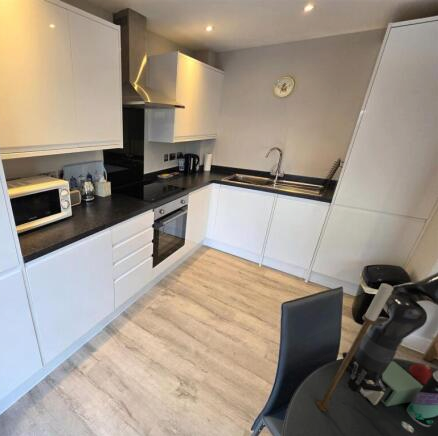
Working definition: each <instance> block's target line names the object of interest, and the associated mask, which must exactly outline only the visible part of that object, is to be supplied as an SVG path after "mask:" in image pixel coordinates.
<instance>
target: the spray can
mask: <svg viewBox="0 0 438 436" xmlns="http://www.w3.org/2000/svg"><path fill="white" fill-rule="evenodd" d="M422 386H423V388H422V389H421V390H420V391H419V393H418V394H417V395H416V397H415V398H414V399H413V401H412V402H409V404H408V406H407V407H406V413H407V415H408V416H409V417H410V418H411V419H412V420H413V421H414V422H415V423H417V424H419V425H421V426H423V427H426V428H429V427H432V425H433V424H435V422H436V421H437V419H438V369H437V370H435V371H434V372H433V374H432V376H431V377H430V378H429V380H428V381H427V382H426V384H423V385H422Z"/></svg>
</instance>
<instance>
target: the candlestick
mask: <svg viewBox="0 0 438 436" xmlns="http://www.w3.org/2000/svg"><path fill="white" fill-rule="evenodd" d="M365 314H366V313H364V314H363V316H362V320H363V321H364V322H363V324H362V325H361V327H360V329H359V330H358V332H357V335H356V337H355V338H354V340H353V342H352V343H351V345H350V347H349V350H348V351H347V352H348V353H347V355H346V357H345V359H343V360H342V362H341V364H340V366H339V368H338V370H337V372H336V374H335V375H334V377H333V379H332V381H331V383H330V385H329V387H328V388H327V390H326V392H325V393H324V397H323V398H322V399H321V400H318V401H317V402H316V407H317V408H318V409H319V410H320V411H321V412H327V410H328V405H327V404H328V402H329V401H330V398H331V397H332V395H333V393H334V391H335V389H336V387H337V386H338V384H339V382H340V381H341V379H342V376H343V375H344V373H345V371H346V368H347V366H348V364H349V362H350V360H351V359H352V357H353V355H354V353H355V351H356V350H357V348H358V346H359V344H360V342H361V340H362V339H363V337H364V335H365V333H366V331H367V330H368V328H369V326H370V324H373V325H374V324H375V323H376V321H377V320H376V321H372V320H369V319H367V318H366V317H365Z"/></svg>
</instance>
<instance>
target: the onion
mask: <svg viewBox="0 0 438 436" xmlns="http://www.w3.org/2000/svg"><path fill="white" fill-rule="evenodd" d="M433 373H434V372H433V370H432V368H431V366H430V365H428V364H421V363H415V364H412V365H411V366H410V367H409V375H411V376H412V377H413V378H414V379H415V380H417V381H418V382H419V383H420V384H421V385H425V384H426V382H427V381H428V380H429V378H430V377H431V376H432V374H433Z"/></svg>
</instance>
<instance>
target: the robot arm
mask: <svg viewBox="0 0 438 436" xmlns="http://www.w3.org/2000/svg"><path fill="white" fill-rule="evenodd" d="M391 286H392V285H391ZM392 287H393V288H394V289H393V291H392V292H391V294H390V296H389V298H388V299H387V301H386V303H385V305H384V307H383V308H382V310H383V311H384V312H385V313H386V314H387V315H388V316H389V318H388V317H384V316H378V317H377V319H376V320H377V321H376V323H375V324H374V325H373V324H370V326H369V328H368V330H367V331H366V333H365V335H364V337H363V339H362V340H361V342H360V344H359V346H358V348H357V350H356V351H355V353H354V355H353V357H352V359H351V360H350V362H349V364H348V366H347V368H346V369H345V371H346V373H348V374H349V375H350V376H349V380H348V382H347V385H348V386H347V387H348V389H350V390H351V391H352V392H360V390H361V388H363V389H364V390H372V391H379V392H381V391H387V390H388V388H387V387H386V386H385V385H383V383H382V381H381V380H382V378H383V377H382V374H383V373H384V372H385V370H386V369H387V367H388V365H389V364H390V362H392V361H393V360H394V359H395V356H396V354H397V351H398V349H399V347H400V346H401V344H402V343H403V342H404V340H405V339H406V338H407V337H409V336H410V335H412V334H413V333H415V332H416V331H418V330H420V329H421V328H423V326H425V324H426V323H427V321H428V313H427V310H426V309H425V308H424V307H423V306H422V305H421V304H420V303H418V302H430V303H432V304H434V305H436V306H438V272H436V273H433V274H431V275H429V276H427V277H424V278H422V279H421V280H416V281H409V282H405V283H402V284H397V285H393V286H392ZM347 353H348V351H344V352H342V353H341V354H342V358H343V359H342V360H344V359H345V357H346V355H347ZM368 380H375V381H376V382H375V383H374V384H367V383H366V382H367V381H368Z"/></svg>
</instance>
